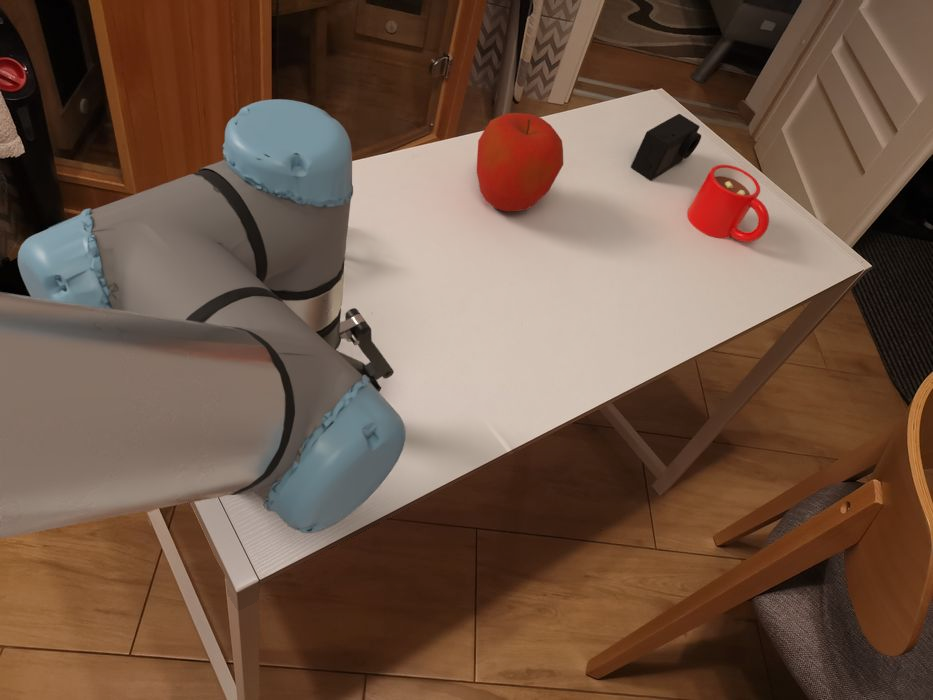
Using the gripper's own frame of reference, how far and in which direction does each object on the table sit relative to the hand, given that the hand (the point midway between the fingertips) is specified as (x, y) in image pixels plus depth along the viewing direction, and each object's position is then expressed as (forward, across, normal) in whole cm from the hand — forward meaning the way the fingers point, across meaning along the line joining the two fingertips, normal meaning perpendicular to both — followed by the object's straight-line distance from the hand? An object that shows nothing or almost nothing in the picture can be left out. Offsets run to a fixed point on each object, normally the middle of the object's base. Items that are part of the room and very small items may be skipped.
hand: (291, 447), depth 68 cm
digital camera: (+1, -77, -21) cm, 80 cm away
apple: (+1, -45, -23) cm, 50 cm away
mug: (+1, -75, -5) cm, 75 cm away
